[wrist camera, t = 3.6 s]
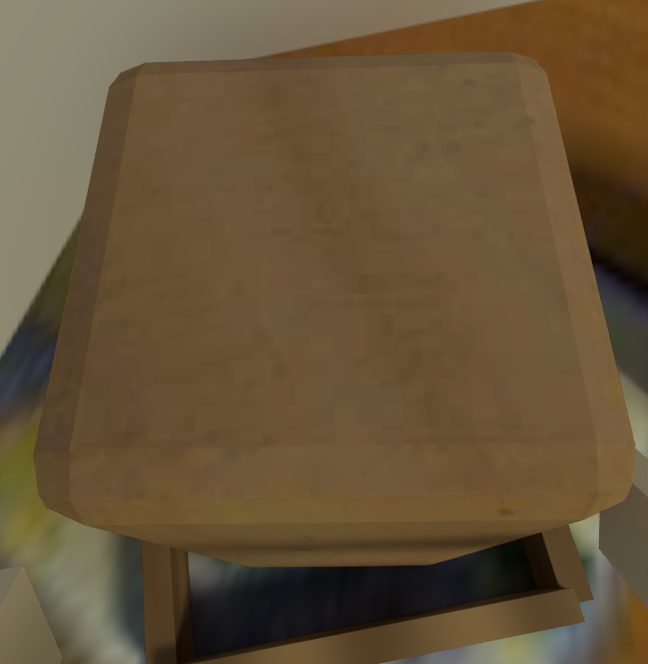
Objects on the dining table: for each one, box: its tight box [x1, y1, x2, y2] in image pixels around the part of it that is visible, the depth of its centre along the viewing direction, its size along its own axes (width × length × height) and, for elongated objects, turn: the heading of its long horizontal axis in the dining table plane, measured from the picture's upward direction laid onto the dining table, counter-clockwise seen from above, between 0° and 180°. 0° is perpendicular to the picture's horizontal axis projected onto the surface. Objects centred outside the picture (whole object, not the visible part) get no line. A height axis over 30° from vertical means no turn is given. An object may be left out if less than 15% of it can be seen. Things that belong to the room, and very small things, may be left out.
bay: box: [141, 525, 594, 664], centre depth 29 cm, size 18×28×4 cm, turn 10°
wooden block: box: [34, 51, 635, 567], centre depth 19 cm, size 10×10×20 cm
